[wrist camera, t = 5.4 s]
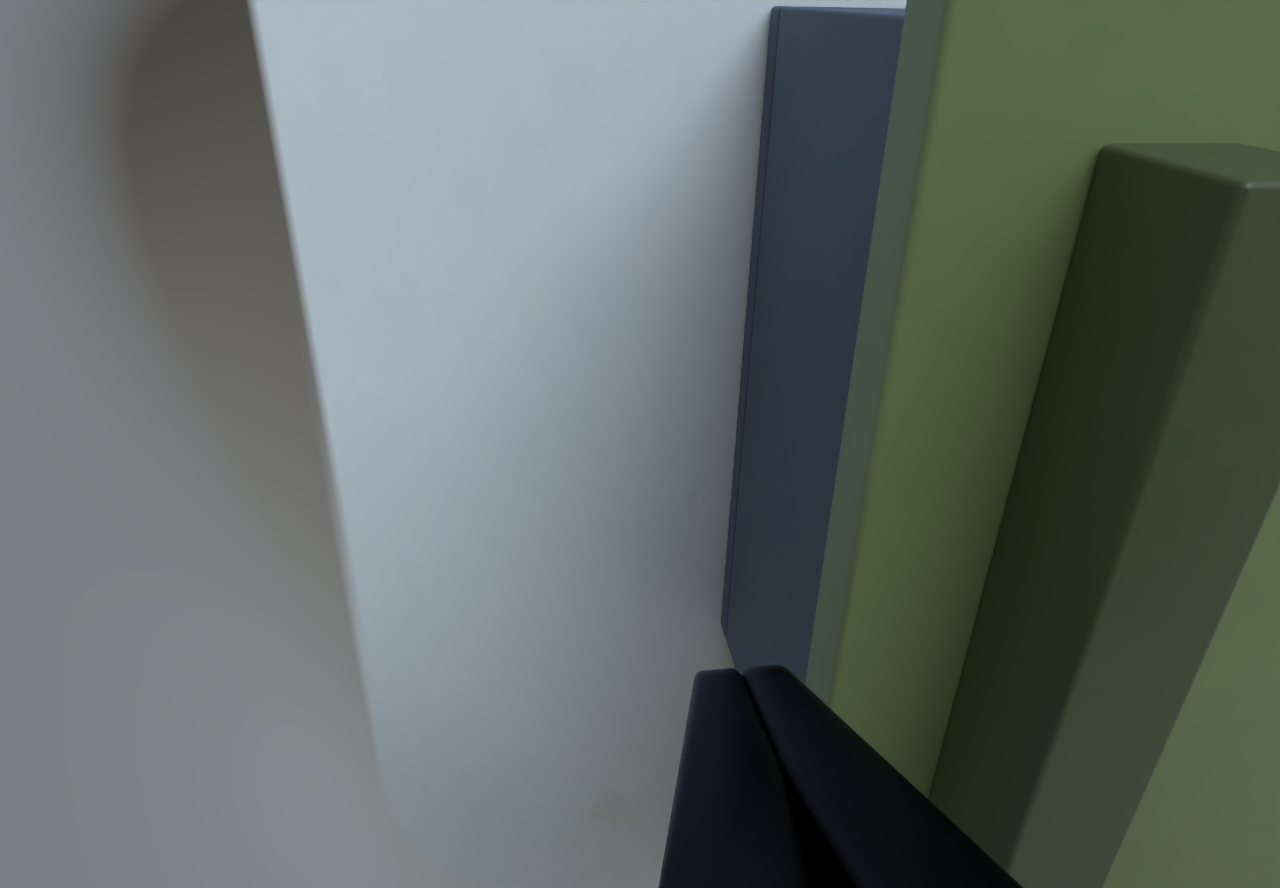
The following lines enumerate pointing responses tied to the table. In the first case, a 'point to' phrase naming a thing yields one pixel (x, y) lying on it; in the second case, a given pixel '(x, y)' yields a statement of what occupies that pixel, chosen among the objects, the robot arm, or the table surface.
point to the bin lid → (1072, 441)
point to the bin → (803, 314)
